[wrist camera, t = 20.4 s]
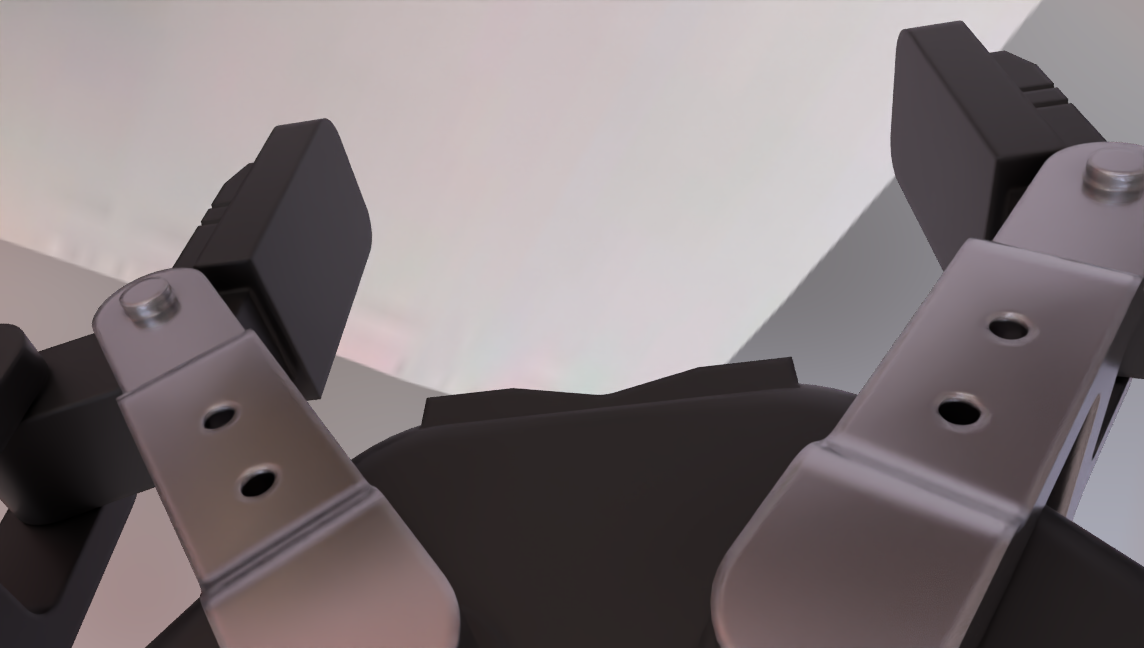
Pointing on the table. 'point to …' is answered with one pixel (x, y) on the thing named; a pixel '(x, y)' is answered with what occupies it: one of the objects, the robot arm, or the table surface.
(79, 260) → the table surface
